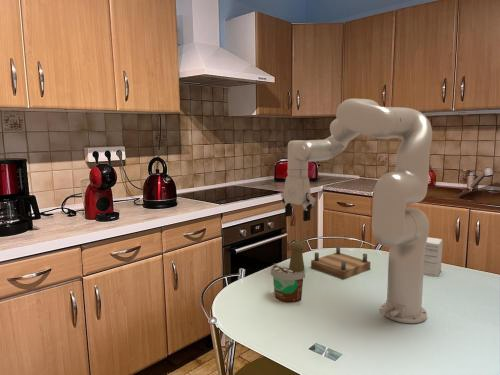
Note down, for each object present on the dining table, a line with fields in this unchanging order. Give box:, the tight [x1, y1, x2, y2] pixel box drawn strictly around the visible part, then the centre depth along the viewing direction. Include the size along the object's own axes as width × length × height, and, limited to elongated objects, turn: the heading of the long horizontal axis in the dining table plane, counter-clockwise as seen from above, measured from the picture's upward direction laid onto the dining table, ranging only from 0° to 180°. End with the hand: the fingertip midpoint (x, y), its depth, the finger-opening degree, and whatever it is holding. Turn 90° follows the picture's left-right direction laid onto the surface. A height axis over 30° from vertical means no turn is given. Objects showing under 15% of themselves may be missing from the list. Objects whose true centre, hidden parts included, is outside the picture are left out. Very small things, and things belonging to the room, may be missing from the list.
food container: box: [270, 263, 306, 304], centre depth 126 cm, size 12×6×10 cm, turn 47°
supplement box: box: [423, 236, 444, 278], centre depth 148 cm, size 7×7×13 cm
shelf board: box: [310, 245, 371, 280], centre depth 153 cm, size 16×16×6 cm
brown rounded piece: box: [288, 241, 305, 272], centre depth 152 cm, size 6×6×11 cm
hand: (297, 218), depth 150 cm, fingers open, 9 cm apart
